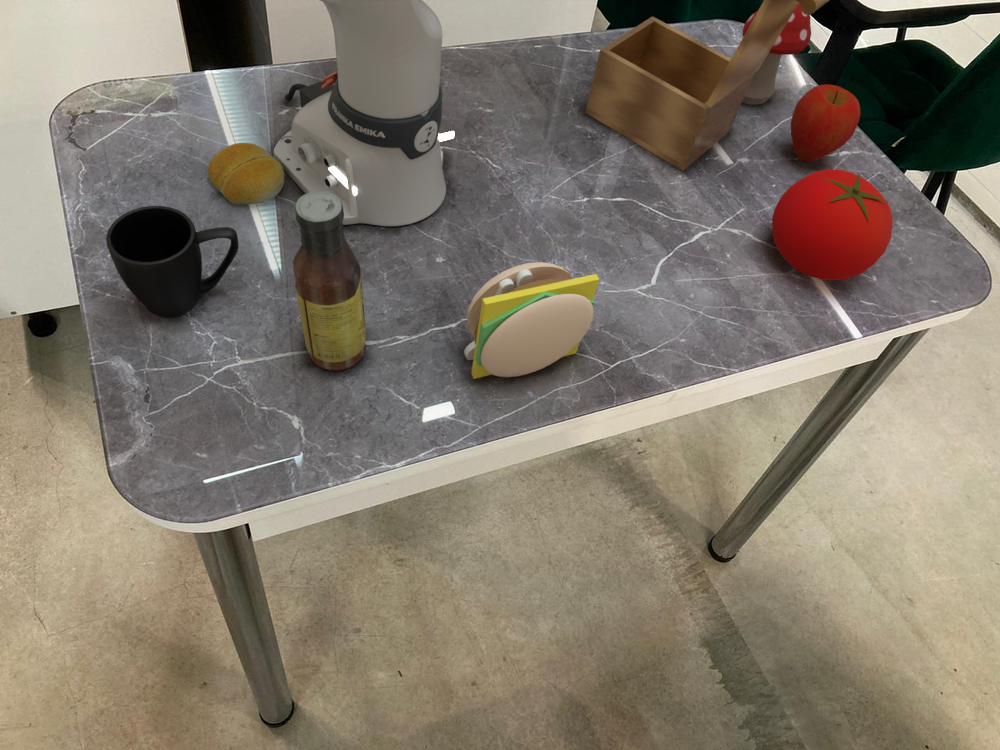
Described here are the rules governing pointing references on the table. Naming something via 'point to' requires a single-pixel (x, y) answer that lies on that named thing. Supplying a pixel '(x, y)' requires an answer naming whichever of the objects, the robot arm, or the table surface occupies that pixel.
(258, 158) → the bread roll
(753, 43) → the lid
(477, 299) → the hamburger
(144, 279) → the mug
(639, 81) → the box
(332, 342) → the sauce bottle
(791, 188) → the tomato
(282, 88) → the table surface
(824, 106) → the apple
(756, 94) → the decorative mushroom
